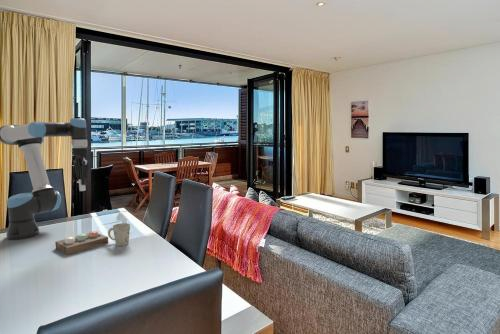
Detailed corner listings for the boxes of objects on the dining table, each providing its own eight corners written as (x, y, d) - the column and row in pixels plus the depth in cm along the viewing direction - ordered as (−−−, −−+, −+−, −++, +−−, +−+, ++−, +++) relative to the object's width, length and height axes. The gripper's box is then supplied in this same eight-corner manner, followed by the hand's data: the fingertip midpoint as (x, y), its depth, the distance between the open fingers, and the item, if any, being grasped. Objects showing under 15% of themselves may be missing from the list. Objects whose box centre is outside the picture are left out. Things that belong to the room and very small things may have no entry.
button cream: (63, 246, 160) (62, 238, 159) (72, 243, 163) (72, 236, 163) (67, 248, 157) (66, 240, 156) (76, 245, 160) (76, 237, 160)
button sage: (76, 242, 164) (75, 235, 164) (84, 240, 168) (84, 233, 167) (79, 244, 162) (79, 237, 161) (88, 242, 165) (88, 234, 164)
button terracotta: (87, 239, 169) (87, 232, 168) (96, 237, 172) (95, 230, 172) (91, 241, 166) (91, 234, 166) (100, 239, 170) (99, 231, 169)
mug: (124, 247, 162) (123, 228, 161) (102, 245, 165) (101, 226, 164) (134, 241, 170) (133, 223, 169) (112, 240, 173) (111, 222, 172)
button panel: (55, 248, 161) (55, 241, 161) (95, 237, 177) (95, 231, 176) (67, 254, 153) (67, 247, 152) (108, 243, 168) (107, 236, 168)
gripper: (67, 147, 173) (70, 190, 176) (78, 148, 165) (81, 193, 168) (81, 146, 179) (84, 188, 182) (92, 147, 171) (95, 191, 174)
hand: (82, 190), depth 175 cm, fingers closed
